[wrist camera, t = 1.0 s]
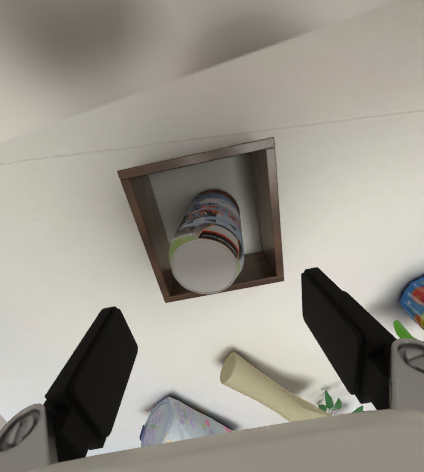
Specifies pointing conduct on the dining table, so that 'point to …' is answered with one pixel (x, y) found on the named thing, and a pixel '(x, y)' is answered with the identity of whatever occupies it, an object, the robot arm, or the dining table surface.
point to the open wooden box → (266, 189)
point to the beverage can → (208, 244)
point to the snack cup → (412, 307)
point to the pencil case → (177, 424)
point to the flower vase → (271, 391)
